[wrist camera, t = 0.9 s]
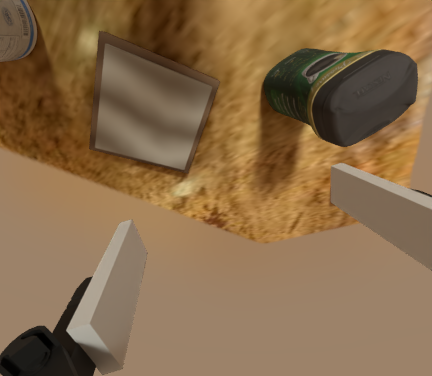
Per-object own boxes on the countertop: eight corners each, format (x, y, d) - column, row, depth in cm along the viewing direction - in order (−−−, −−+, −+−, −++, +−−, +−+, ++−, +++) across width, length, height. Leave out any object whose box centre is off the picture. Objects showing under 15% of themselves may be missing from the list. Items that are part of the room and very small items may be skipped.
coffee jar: (273, 118, 38) (339, 165, 23) (255, 76, 34) (322, 101, 19) (323, 86, 37) (429, 114, 21) (311, 38, 32) (433, 31, 17)
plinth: (105, 32, 28) (96, 30, 25) (216, 79, 33) (221, 82, 30) (95, 141, 35) (87, 151, 32) (186, 165, 41) (187, 176, 37)
